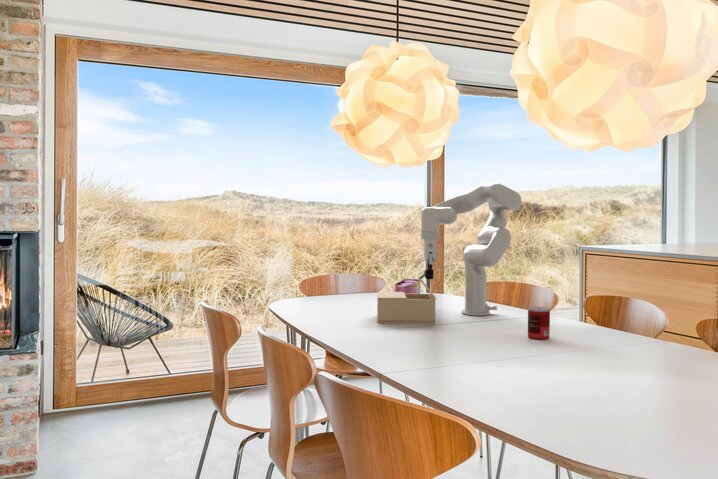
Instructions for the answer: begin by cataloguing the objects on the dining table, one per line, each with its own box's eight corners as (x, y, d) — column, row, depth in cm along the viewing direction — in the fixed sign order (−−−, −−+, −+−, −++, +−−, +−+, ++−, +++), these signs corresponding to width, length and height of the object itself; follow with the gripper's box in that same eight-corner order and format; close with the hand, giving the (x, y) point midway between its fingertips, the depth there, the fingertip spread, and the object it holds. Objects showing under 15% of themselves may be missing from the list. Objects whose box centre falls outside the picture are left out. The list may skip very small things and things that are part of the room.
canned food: (548, 336, 212) (549, 307, 211) (550, 340, 204) (550, 310, 203) (527, 335, 214) (527, 306, 213) (527, 339, 206) (528, 309, 206)
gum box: (409, 314, 258) (410, 284, 257) (393, 313, 260) (393, 284, 260) (420, 306, 281) (420, 279, 280) (404, 305, 283) (405, 278, 283)
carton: (430, 315, 255) (431, 292, 254) (435, 323, 237) (435, 297, 236) (377, 315, 255) (377, 291, 255) (377, 323, 237) (377, 297, 237)
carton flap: (431, 293, 254) (441, 284, 254) (435, 299, 237) (446, 289, 236) (414, 273, 254) (425, 264, 253) (417, 277, 236) (429, 268, 236)
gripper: (440, 236, 236) (439, 280, 237) (436, 235, 252) (436, 276, 253) (422, 236, 236) (421, 280, 237) (419, 235, 253) (419, 276, 253)
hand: (429, 278), depth 245 cm, fingers closed on carton flap, 3 cm apart
